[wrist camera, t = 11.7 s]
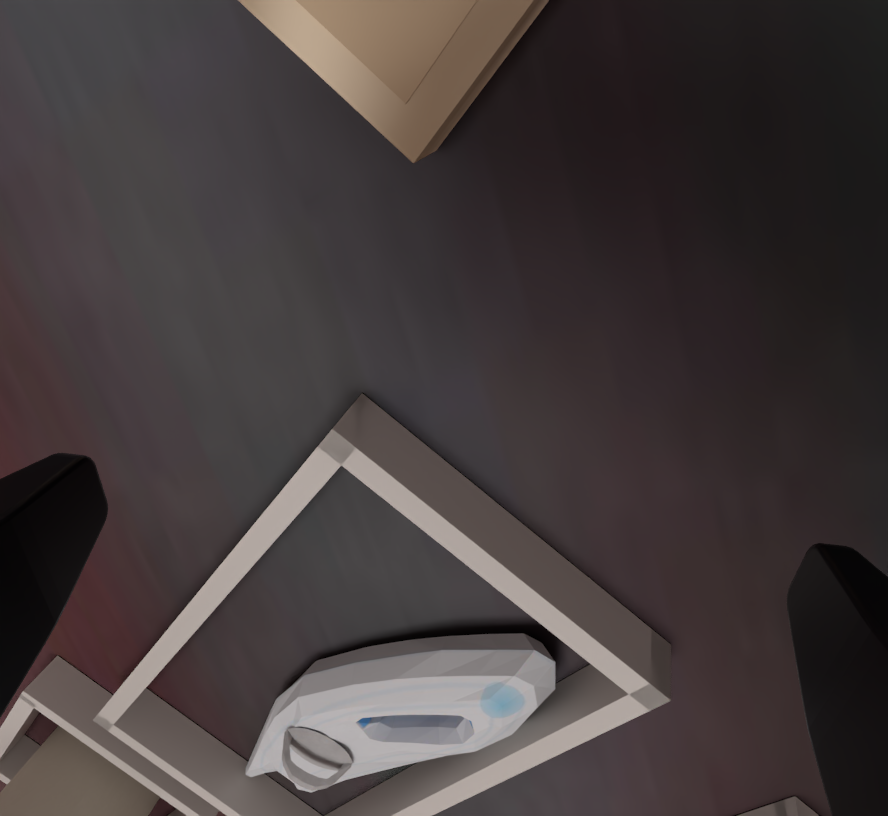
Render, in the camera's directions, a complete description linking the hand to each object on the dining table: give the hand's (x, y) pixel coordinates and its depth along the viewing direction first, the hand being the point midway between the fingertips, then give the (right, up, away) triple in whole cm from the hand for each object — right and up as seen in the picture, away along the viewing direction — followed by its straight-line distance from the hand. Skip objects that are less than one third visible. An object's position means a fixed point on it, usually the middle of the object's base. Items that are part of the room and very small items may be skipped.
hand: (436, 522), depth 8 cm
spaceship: (-3, -13, +25) cm, 28 cm away
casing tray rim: (-5, -11, +24) cm, 26 cm away
